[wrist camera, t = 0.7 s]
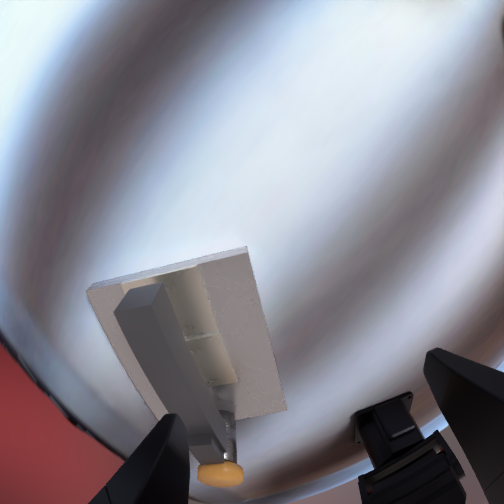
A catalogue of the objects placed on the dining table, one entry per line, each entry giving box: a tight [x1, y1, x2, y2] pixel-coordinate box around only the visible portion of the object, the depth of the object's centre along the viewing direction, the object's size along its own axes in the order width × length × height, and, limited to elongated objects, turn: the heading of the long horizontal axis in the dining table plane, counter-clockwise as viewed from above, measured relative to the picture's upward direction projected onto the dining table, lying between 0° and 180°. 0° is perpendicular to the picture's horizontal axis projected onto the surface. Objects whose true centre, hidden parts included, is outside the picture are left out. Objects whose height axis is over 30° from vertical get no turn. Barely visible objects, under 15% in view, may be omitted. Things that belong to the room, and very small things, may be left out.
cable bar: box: [113, 282, 244, 487], centre depth 15 cm, size 15×3×4 cm, turn 13°
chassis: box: [86, 246, 287, 464], centre depth 17 cm, size 15×11×6 cm
